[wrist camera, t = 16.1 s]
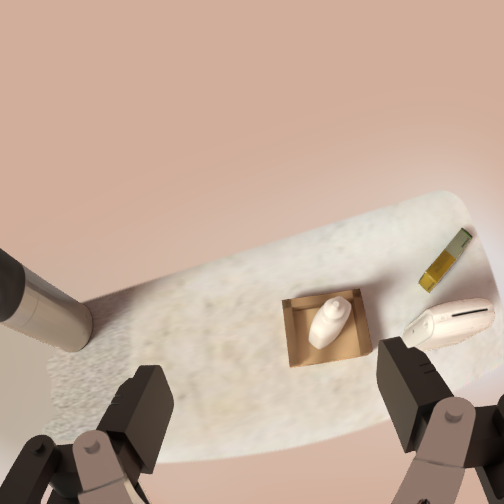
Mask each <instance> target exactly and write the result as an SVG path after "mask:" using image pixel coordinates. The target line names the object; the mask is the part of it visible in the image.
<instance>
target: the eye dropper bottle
mask: <svg viewBox="0 0 504 504" xmlns="http://www.w3.org/2000/svg"><path fill="white" fill-rule="evenodd" d="M350 311H351V304H350V303H349V302H348V301H347V300H346V299H344V298H343V297H341V296H337V297H335V298H331V299H329V300H327V301H326V303H325V304H324V305H323V306H322V307H321V308H320V309H319V310H318V312H317V313H316V315H315V317H314V319H313V321H312V324H311V328H310V332H309V342H310V343H311V344H312V345H313V346H314V347H316V348H317V349H322V348H324V347H326V346H328V345H329V344H330V343H332V342H333V341H334V340H335V339H336V338H337V336H338V335H339V333H340V332H341V330H342V328H343V326H344V325H345V323H346V321H347V319H348V317H349V314H350Z"/></svg>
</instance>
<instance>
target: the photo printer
mask: <svg viewBox="0 0 504 504" xmlns="http://www.w3.org/2000/svg"><path fill="white" fill-rule="evenodd" d="M494 317H495V312H494V309H493V303H492V302H491V301H490V300H488V299H483V298H472V299H464V300H458V301H452V302H447V303H443V304H440V305H437V306H434V307H431V308H429V309H427V310H426V311H425V312H423V313H422V314H421V315H420V316H419V317H418V318H417V319H415V320H414V321H413V322H412V323H411V324H410V325H408V326H407V327H406V328H405V332H404V334H403V336H402V340H403V341H404V343H405V344H406V346H407V347H408V348H410V347H416V348H417V349H419V350H421V351H428V350H434V349H439V348H443V347H448V346H452V345H455V344H458V343H460V342H462V341H464V340H466V339H468V338H470V337H472V336H474V335H476V334H477V333H479V332H481V331H483V330H485V329H486V328H488V327H489V326H491V324H492V323H493V321H494Z"/></svg>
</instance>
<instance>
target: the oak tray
mask: <svg viewBox="0 0 504 504" xmlns="http://www.w3.org/2000/svg"><path fill="white" fill-rule="evenodd" d="M337 296H341V297H343V298H344V299H346V300H347V301H348V302H349V303H350V304H351V311H350V314H349V317H348V319H347V321H346V323H345V325H344V326H343V328H342V330H341V332H340V333H339V335H338V336H337V338H336V339H335V340H334V341H333V342H332V343H330V344H329V345H328V346H326V347H324V348H322V349H317V348H316V347H314V346H313V345H312V344H311V343H310V342H309V332H310V328H311V324H312V321H313V319H314V317H315V315H316V313H317V312H318V310H319V309H320V308H321V307H322V306H323V305H324V304H325V303H326V301H327V300H329V299H331V298H335V297H337ZM282 305H283V313H284V321H285V330H286V338H287V347H288V355H289V364H290V368H292V367H299V366H306V365H313V364H320V363H326V362H332V361H338V360H344V359H350V358H355V357H360V356H366V355H368V354H370V353H371V352H372V347H371V341H370V336H369V330H368V325H367V320H366V315H365V310H364V305H363V301H362V296H361V291H360V289H354V290H348V291H342V292H336V293H329V294H322V295H316V296H309V297H302V298H295V299H287V300H282Z"/></svg>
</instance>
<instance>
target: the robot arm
mask: <svg viewBox="0 0 504 504" xmlns="http://www.w3.org/2000/svg"><path fill="white" fill-rule="evenodd" d="M0 324H2V325H4V326H6V327H9V328H11V329H13V330H15V331H18V332H20V333H22V334H25V335H27V336H29V337H32V338H34V339H36V340H39V341H41V342H43V343H46V344H49V345H51V346H53V347H56V348H58V349H61V350H64V351H67V352H76V351H78V350H80V349H82V348H83V347H84V346H85V345H86V343H87V342H88V340H89V338H90V336H91V333H92V327H93V321H92V316H91V313H90V311H89V310H88V308H87V307H86V306H84V305H83V304H81V303H80V302H78V301H76V300H75V299H73V298H72V297H70V296H68V295H67V294H65V293H64V292H62V291H61V290H59V289H58V288H56V287H55V286H53V285H51V284H50V283H48V282H47V281H45V280H44V279H42V278H41V277H39V276H38V275H37V274H35V273H34V272H32V271H31V270H29V269H28V268H27V267H25V266H24V265H22V264H21V263H19V262H18V261H17V260H15V259H14V258H13V257H11V256H10V255H9V254H7V253H6V252H5V251H3V250H2V249H0ZM376 376H377V384H378V388H379V391H380V393H381V395H382V398H383V400H384V402H385V405H386V407H387V410H388V412H389V414H390V417H391V419H392V422H393V424H394V427H395V429H396V431H397V434H398V437H399V439H400V442H401V444H402V447H403V449H404V452H405V453H408V452H411V451H416V456H415V458H414V459H413V461H412V463H411V465H410V467H409V469H408V471H407V474H406V476H405V478H404V480H403V482H402V484H401V486H400V488H399V490H398V492H397V494H396V495H395V497H394V499H393V501H392V503H391V504H454V503H455V500H456V497H457V494H458V492H459V489H460V486H461V482H462V479H463V476H464V472H465V469H466V468H474V467H475V470H476V472H477V475H478V477H479V479H480V482H481V484H482V487H483V489H484V492H485V495H486V497H487V500H488V502H489V504H504V394H503V395H502V396H501V397H500V399H499V402H498V404H497V405H492V406H484V407H474V406H473V405H472V404H471V403H470V402H469V401H468V400H466V399H464V398H460V397H454V395H453V394H452V392H451V391H450V389H449V388H448V386H447V385H446V383H445V382H444V380H443V379H442V377H441V376H440V374H439V373H438V371H436V368H435V367H434V365H433V364H431V361H430V360H429V358H428V357H427V355H426V354H425V353H424V352H422V351H421V350H419V349H417V348H416V347H410V348H408V347H407V346H406V344H405V343H404V341H403V340H402V338H401V337H399V336H398V337H394V338H389V339H384V340H380V341H379V345H378V360H377V373H376ZM173 408H174V400H173V395H172V393H171V390H170V388H169V385H168V383H167V380H166V377H165V375H164V372H163V370H162V368H161V366H159V365H141V366H139V368H138V369H137V371H136V373H135V375H134V377H133V378H129V379H128V380H126V381H125V382H124V383H123V384H122V385H121V386H120V387H119V389H118V391H117V392H116V394H115V397H114V398H113V399H112V401H111V405H109V407H108V408H107V410H106V412H105V414H104V416H103V417H102V419H101V421H100V423H99V425H98V427H97V428H96V430H92V431H87V432H85V433H83V434H81V435H80V436H79V437H78V438H77V439H76V440H75V441H74V444H67V445H56V444H55V443H54V441H53V440H52V439H51V438H50V437H49V436H47V435H38V436H35V437H33V438H31V439H30V440H29V441H27V442H26V444H25V446H24V447H23V449H22V450H21V452H20V454H19V455H18V457H17V459H16V461H15V462H14V464H13V466H12V467H11V469H10V471H9V473H8V474H7V476H6V478H5V480H4V482H3V484H2V485H1V487H0V504H41V499H42V497H43V494H44V492H45V490H46V488H47V486H48V484H49V485H50V486H51V487H52V488H53V490H52V492H51V495H50V497H49V499H48V501H47V504H152V503H151V501H150V499H149V498H148V496H147V494H146V492H145V490H144V488H143V486H142V484H141V482H140V481H139V480H138V479H139V476H140V473H146V474H152V473H153V470H154V467H155V464H156V460H157V457H158V454H159V451H160V448H161V445H162V442H163V439H164V436H165V433H166V430H167V427H168V424H169V421H170V418H171V415H172V412H173Z"/></svg>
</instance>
